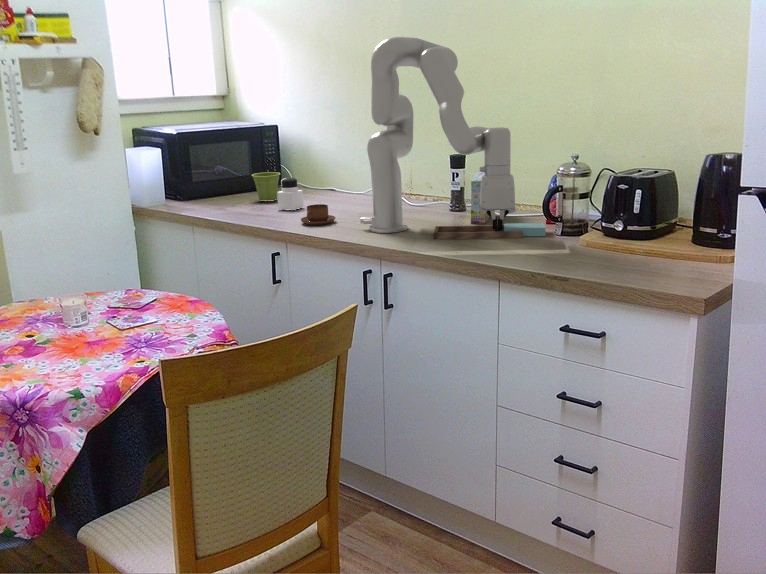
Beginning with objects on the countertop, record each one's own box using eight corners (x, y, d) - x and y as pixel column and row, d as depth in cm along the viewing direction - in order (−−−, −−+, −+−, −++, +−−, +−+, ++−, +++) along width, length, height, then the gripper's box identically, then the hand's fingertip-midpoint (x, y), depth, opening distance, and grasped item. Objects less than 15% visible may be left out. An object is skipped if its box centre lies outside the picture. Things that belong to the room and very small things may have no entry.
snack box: (487, 227, 240) (487, 180, 236) (470, 227, 241) (469, 180, 237) (491, 214, 260) (491, 171, 256) (475, 215, 261) (474, 171, 257)
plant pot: (250, 203, 306) (247, 176, 303) (259, 198, 317) (256, 172, 314) (277, 203, 304) (275, 175, 301) (286, 198, 315) (283, 171, 312)
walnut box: (434, 242, 222) (433, 233, 221) (436, 235, 232) (435, 226, 231) (522, 241, 218) (522, 231, 218) (520, 233, 228) (520, 224, 227)
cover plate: (503, 236, 221) (503, 228, 220) (504, 231, 227) (504, 223, 226) (545, 236, 219) (545, 227, 218) (544, 231, 225) (544, 223, 225)
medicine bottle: (304, 208, 290) (301, 177, 286) (292, 211, 284) (290, 180, 281) (289, 207, 293) (287, 176, 290) (278, 210, 288) (275, 179, 284)
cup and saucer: (330, 227, 252) (329, 209, 251) (296, 227, 255) (295, 209, 253) (339, 220, 264) (338, 202, 262) (307, 220, 266) (305, 203, 264)
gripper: (471, 173, 216) (472, 235, 221) (524, 171, 214) (523, 234, 219) (472, 169, 223) (472, 229, 228) (522, 168, 221) (522, 228, 226)
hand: (497, 231), depth 224 cm, fingers closed
